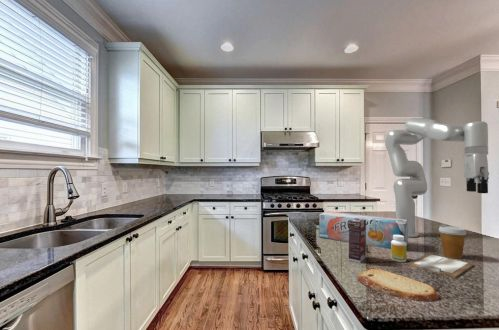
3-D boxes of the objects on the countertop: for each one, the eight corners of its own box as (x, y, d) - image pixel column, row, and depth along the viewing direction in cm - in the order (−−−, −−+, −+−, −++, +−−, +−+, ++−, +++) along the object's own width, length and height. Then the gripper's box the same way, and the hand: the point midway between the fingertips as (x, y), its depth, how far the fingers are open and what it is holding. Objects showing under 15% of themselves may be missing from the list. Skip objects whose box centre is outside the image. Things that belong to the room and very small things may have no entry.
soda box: (317, 238, 140) (317, 213, 140) (326, 233, 151) (326, 210, 151) (406, 252, 116) (405, 223, 116) (408, 245, 127) (408, 218, 128)
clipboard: (407, 264, 100) (407, 260, 100) (428, 255, 111) (428, 251, 111) (455, 277, 88) (455, 273, 88) (473, 265, 99) (473, 261, 99)
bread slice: (445, 301, 72) (445, 288, 72) (383, 304, 71) (383, 290, 71) (402, 275, 90) (402, 264, 90) (352, 277, 89) (352, 266, 89)
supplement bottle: (406, 263, 101) (406, 238, 102) (391, 260, 104) (390, 236, 104) (406, 259, 106) (406, 235, 106) (391, 256, 109) (391, 233, 109)
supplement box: (360, 263, 101) (360, 222, 101) (348, 260, 104) (348, 220, 104) (366, 257, 108) (366, 219, 108) (354, 255, 111) (354, 217, 111)
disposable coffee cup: (461, 254, 113) (460, 226, 113) (471, 261, 104) (471, 231, 104) (435, 251, 116) (435, 224, 116) (443, 258, 107) (443, 229, 107)
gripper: (456, 153, 119) (457, 190, 118) (474, 150, 102) (475, 193, 102) (477, 152, 116) (477, 191, 116) (499, 149, 100) (499, 194, 99)
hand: (476, 192), depth 109 cm, fingers open, 9 cm apart
